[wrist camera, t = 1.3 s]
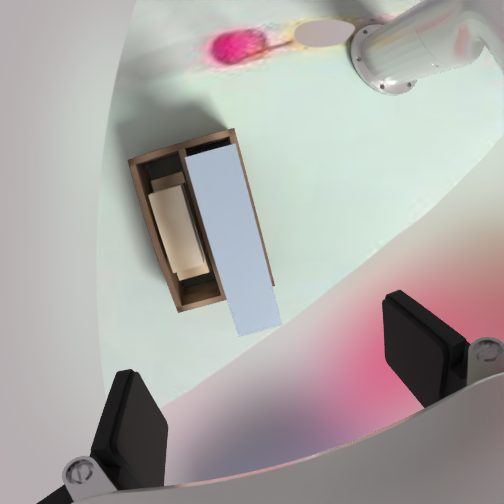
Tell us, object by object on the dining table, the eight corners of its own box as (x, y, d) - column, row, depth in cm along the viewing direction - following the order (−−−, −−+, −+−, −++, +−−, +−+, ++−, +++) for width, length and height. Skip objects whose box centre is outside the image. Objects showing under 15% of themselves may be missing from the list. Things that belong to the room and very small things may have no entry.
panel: (224, 151, 43) (235, 143, 24) (253, 258, 47) (281, 324, 28) (196, 159, 42) (184, 157, 23) (226, 266, 47) (239, 336, 28)
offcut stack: (183, 170, 43) (178, 172, 36) (211, 263, 47) (211, 282, 40) (154, 180, 43) (143, 183, 35) (182, 271, 47) (178, 291, 40)
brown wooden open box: (231, 132, 42) (234, 128, 36) (267, 270, 48) (274, 285, 42) (138, 160, 41) (127, 160, 36) (181, 295, 47) (178, 312, 42)
